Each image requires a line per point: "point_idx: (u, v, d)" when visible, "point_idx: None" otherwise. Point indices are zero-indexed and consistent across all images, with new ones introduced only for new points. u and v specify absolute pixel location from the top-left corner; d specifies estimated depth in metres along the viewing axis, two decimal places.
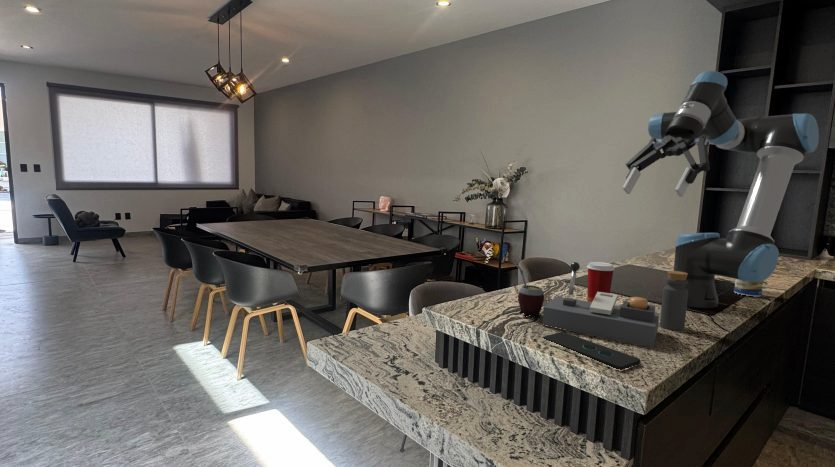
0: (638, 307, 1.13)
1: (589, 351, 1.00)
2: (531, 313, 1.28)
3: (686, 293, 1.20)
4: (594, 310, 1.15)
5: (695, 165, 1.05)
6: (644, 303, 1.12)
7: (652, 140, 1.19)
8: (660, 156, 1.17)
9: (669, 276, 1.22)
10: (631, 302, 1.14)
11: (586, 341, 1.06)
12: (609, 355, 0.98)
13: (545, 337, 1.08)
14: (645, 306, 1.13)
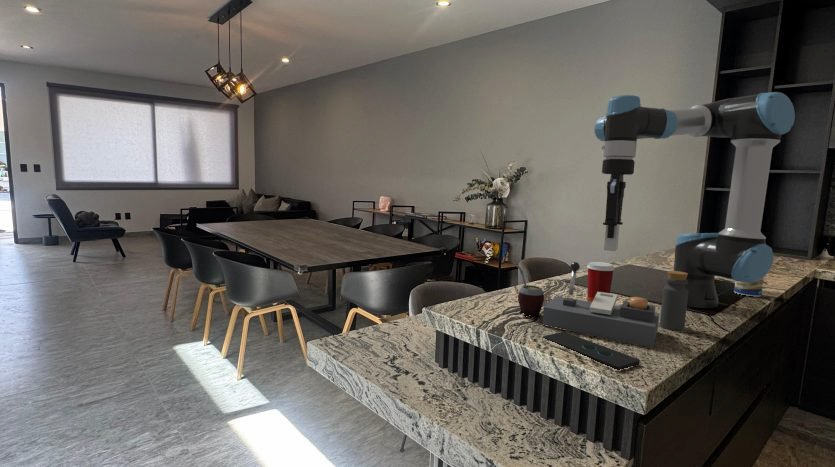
0: (638, 307, 1.13)
1: (588, 351, 1.00)
2: (531, 313, 1.28)
3: (686, 293, 1.20)
4: (594, 310, 1.15)
5: (605, 224, 1.18)
6: (644, 303, 1.12)
7: None
8: None
9: (669, 276, 1.22)
10: (631, 302, 1.14)
11: (586, 341, 1.06)
12: (608, 355, 0.98)
13: (545, 337, 1.08)
14: (645, 306, 1.13)
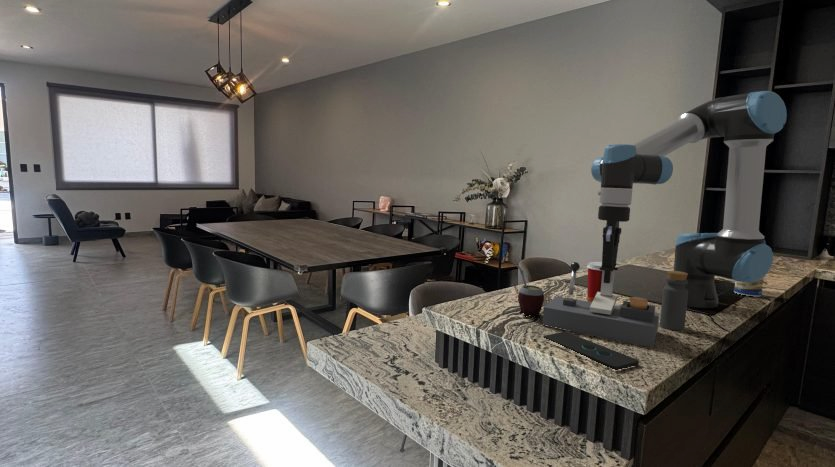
0: (638, 307, 1.13)
1: (587, 351, 1.00)
2: (531, 313, 1.28)
3: (686, 293, 1.20)
4: (594, 310, 1.15)
5: (601, 269, 1.20)
6: (644, 303, 1.12)
7: None
8: None
9: (669, 276, 1.22)
10: (631, 302, 1.14)
11: (587, 341, 1.06)
12: (607, 355, 0.98)
13: (546, 336, 1.09)
14: (645, 306, 1.13)
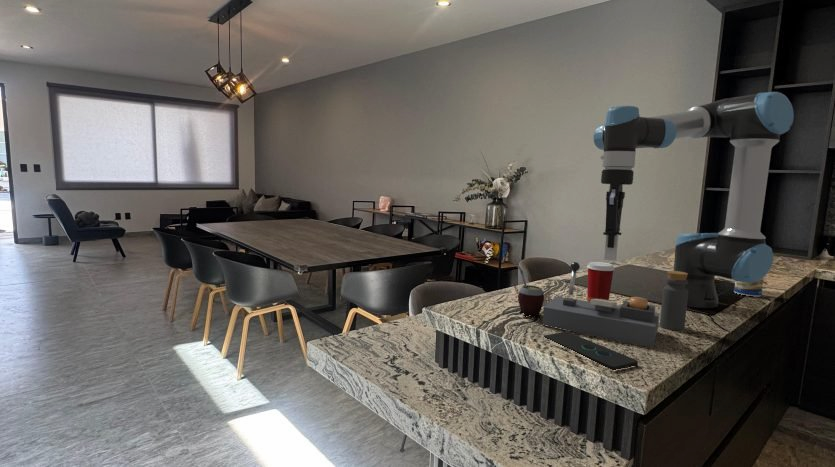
0: (638, 307, 1.13)
1: (586, 351, 1.00)
2: (531, 313, 1.28)
3: (686, 293, 1.20)
4: (595, 302, 1.15)
5: (605, 234, 1.19)
6: (644, 303, 1.12)
7: None
8: None
9: (669, 276, 1.22)
10: (631, 302, 1.14)
11: (587, 341, 1.06)
12: (606, 355, 0.98)
13: (546, 336, 1.09)
14: (645, 306, 1.13)
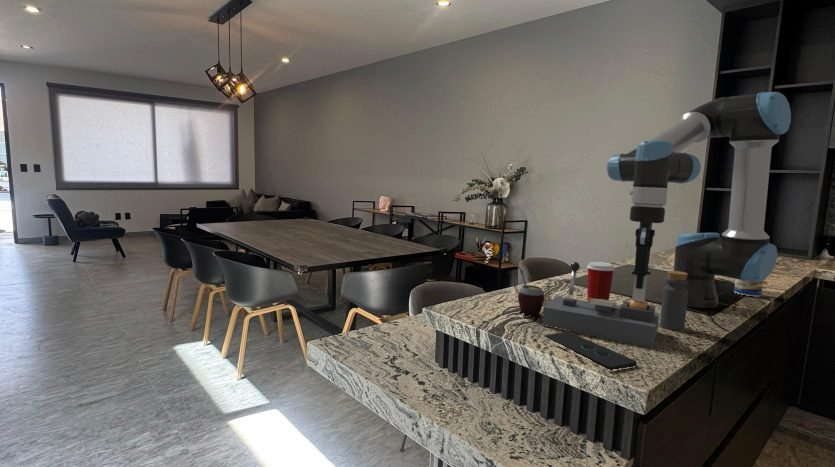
0: None
1: (585, 350, 1.00)
2: (531, 313, 1.28)
3: (686, 293, 1.20)
4: (595, 302, 1.15)
5: (634, 274, 1.13)
6: (644, 306, 1.13)
7: None
8: None
9: (669, 276, 1.22)
10: (631, 304, 1.14)
11: (588, 341, 1.06)
12: (605, 356, 0.98)
13: (547, 335, 1.09)
14: (645, 309, 1.13)
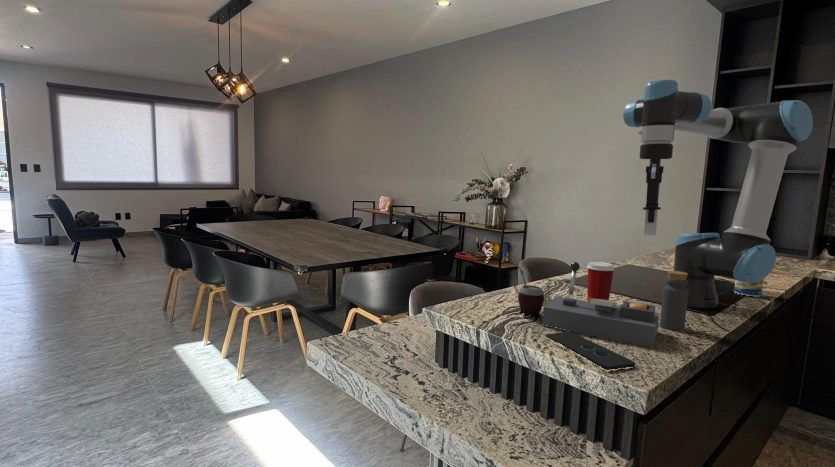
0: None
1: (584, 350, 1.01)
2: (531, 313, 1.28)
3: (686, 293, 1.20)
4: (595, 302, 1.15)
5: (645, 209, 1.20)
6: (644, 309, 1.13)
7: None
8: None
9: (669, 276, 1.22)
10: None
11: (589, 342, 1.06)
12: (603, 356, 0.98)
13: (548, 335, 1.10)
14: None
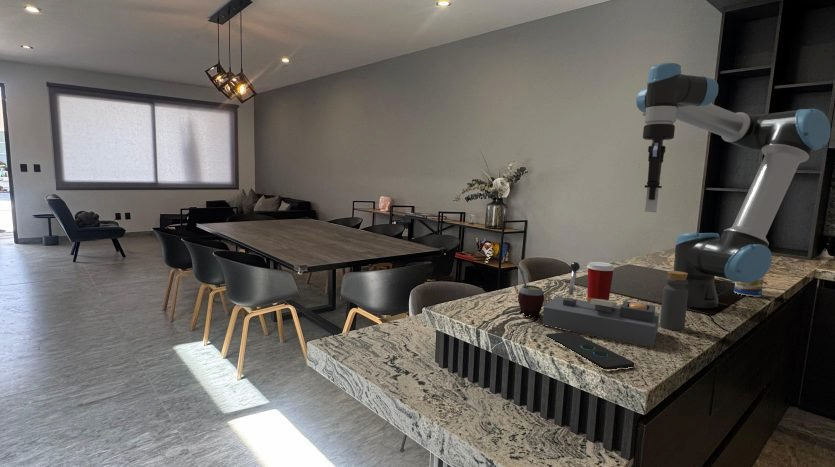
0: None
1: (584, 350, 1.01)
2: (531, 313, 1.28)
3: (686, 293, 1.20)
4: (595, 302, 1.15)
5: (647, 187, 1.25)
6: (644, 309, 1.13)
7: None
8: None
9: (669, 276, 1.22)
10: None
11: (589, 342, 1.06)
12: (602, 356, 0.98)
13: (548, 334, 1.10)
14: None
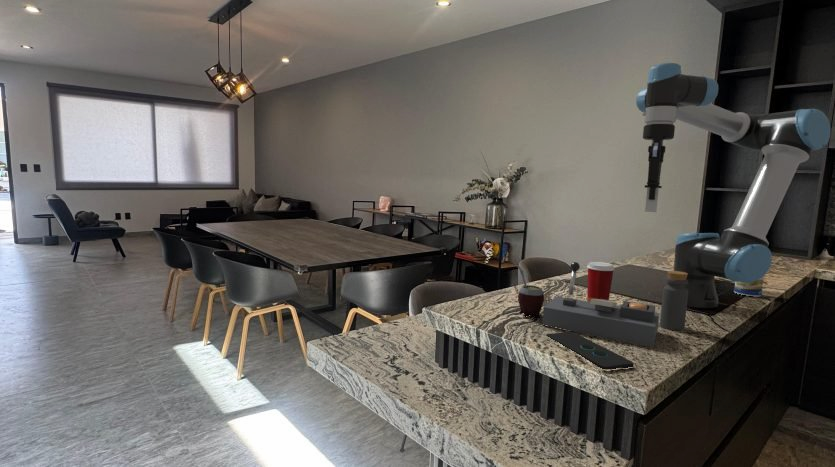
0: None
1: (583, 350, 1.01)
2: (531, 313, 1.28)
3: (686, 293, 1.20)
4: (595, 302, 1.15)
5: (647, 187, 1.25)
6: (644, 309, 1.13)
7: None
8: None
9: (669, 276, 1.22)
10: None
11: (589, 342, 1.06)
12: (602, 356, 0.98)
13: (549, 334, 1.10)
14: None
